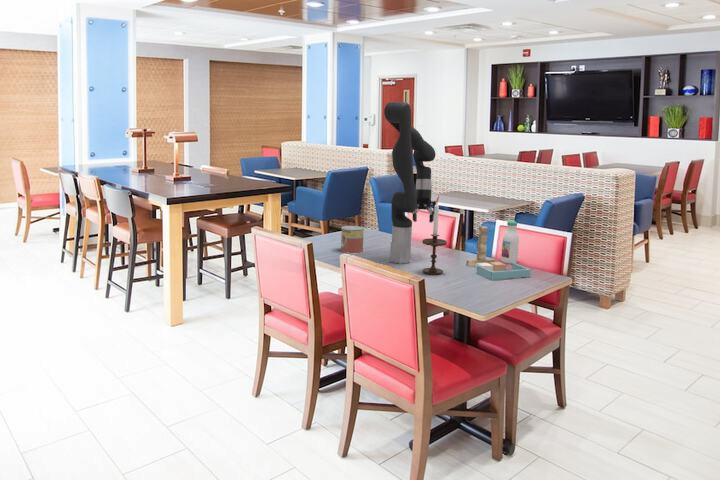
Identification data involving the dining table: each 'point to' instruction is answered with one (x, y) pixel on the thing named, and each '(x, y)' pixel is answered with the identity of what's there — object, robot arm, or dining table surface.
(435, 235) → the candlestick
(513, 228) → the milk bottle
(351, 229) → the canned food
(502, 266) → the tile terracotta
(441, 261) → the dining table surface
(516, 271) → the box
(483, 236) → the wooden tower
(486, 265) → the tile cream
